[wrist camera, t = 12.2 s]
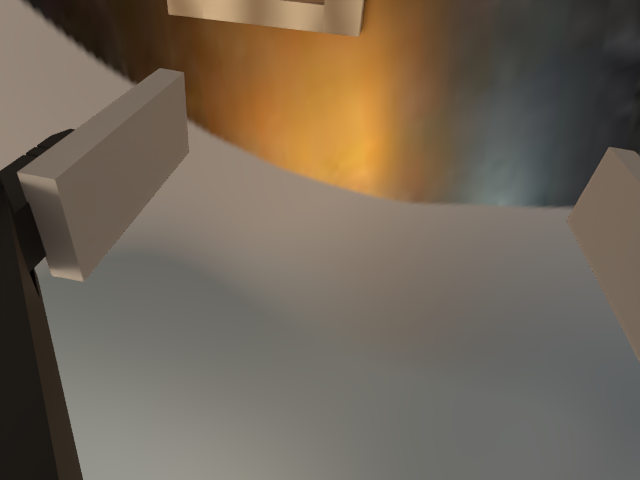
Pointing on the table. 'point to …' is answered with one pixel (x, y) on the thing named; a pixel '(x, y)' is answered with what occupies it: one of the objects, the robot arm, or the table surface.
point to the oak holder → (279, 13)
